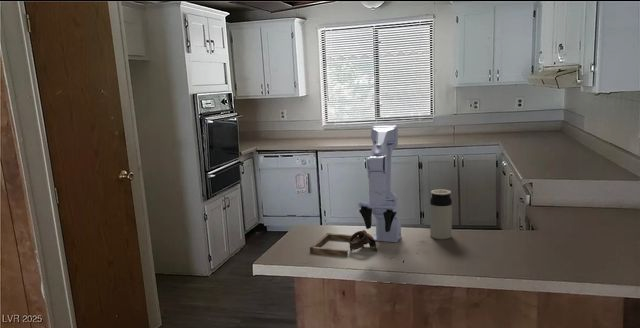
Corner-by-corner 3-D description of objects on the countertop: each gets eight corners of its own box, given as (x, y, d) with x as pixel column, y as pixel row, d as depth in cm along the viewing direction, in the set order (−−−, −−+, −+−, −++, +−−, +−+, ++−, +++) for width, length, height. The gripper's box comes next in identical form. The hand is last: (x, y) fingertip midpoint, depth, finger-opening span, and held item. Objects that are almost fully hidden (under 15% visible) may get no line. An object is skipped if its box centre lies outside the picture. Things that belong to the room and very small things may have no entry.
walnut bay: (361, 240, 181) (361, 236, 181) (346, 256, 166) (346, 251, 165) (327, 237, 187) (327, 232, 187) (310, 252, 171) (309, 247, 171)
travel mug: (449, 240, 177) (450, 194, 174) (428, 238, 180) (428, 193, 177) (452, 234, 185) (453, 189, 182) (432, 232, 188) (432, 188, 185)
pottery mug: (380, 255, 167) (369, 238, 164) (356, 266, 169) (345, 249, 166) (378, 236, 178) (367, 220, 175) (356, 246, 180) (345, 230, 177)
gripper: (353, 191, 161) (354, 229, 163) (390, 195, 153) (391, 235, 154) (364, 187, 167) (364, 225, 169) (400, 191, 158) (401, 230, 160)
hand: (378, 229), depth 162 cm, fingers open, 7 cm apart
